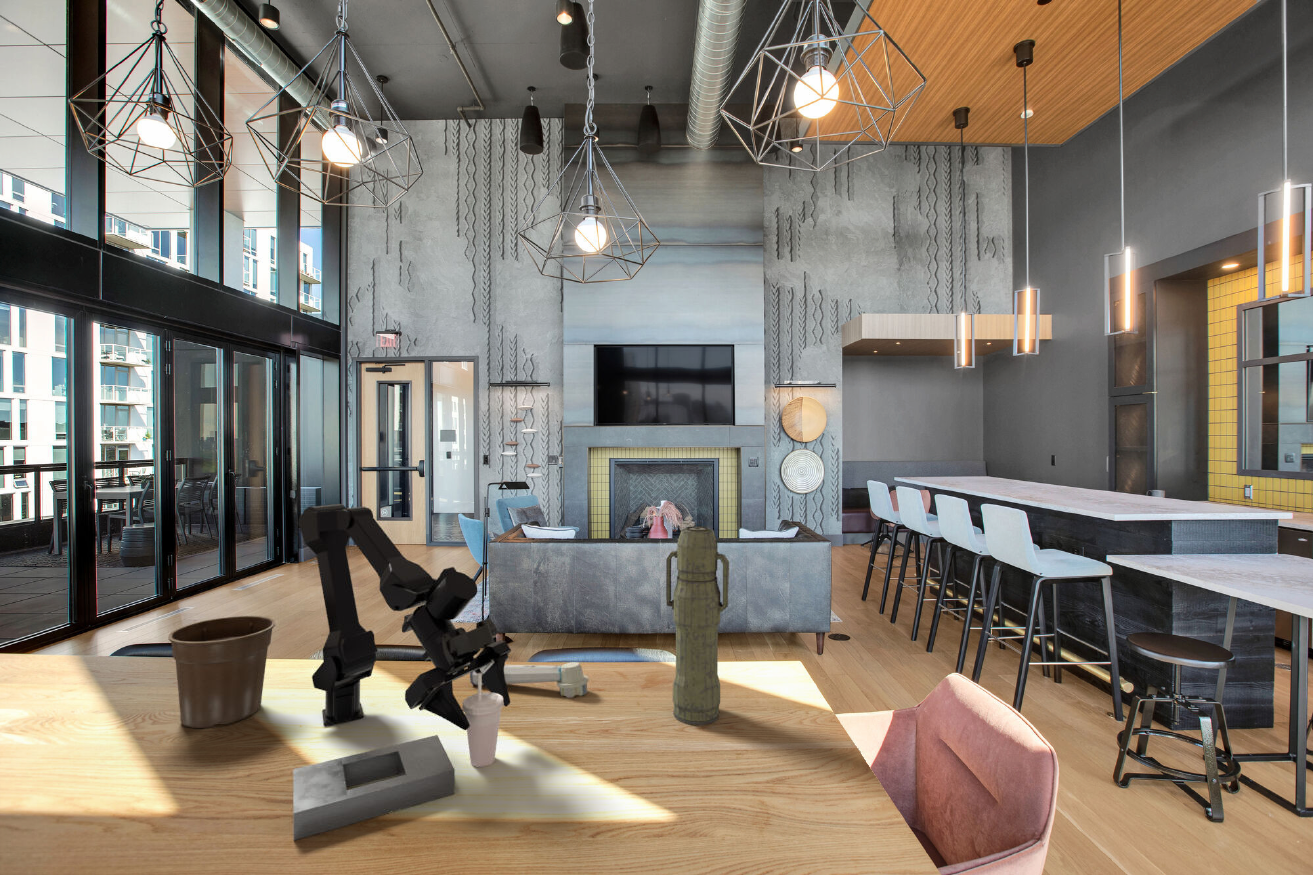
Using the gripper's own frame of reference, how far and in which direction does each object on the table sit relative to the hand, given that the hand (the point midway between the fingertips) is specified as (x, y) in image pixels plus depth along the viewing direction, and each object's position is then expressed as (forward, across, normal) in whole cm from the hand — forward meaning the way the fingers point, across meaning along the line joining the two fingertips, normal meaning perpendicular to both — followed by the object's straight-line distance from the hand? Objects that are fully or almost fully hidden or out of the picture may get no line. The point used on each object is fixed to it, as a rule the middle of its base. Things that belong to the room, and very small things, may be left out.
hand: (488, 716), depth 96 cm
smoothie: (+4, 0, +6) cm, 8 cm away
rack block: (-1, -14, +11) cm, 18 cm away
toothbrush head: (-3, +26, +14) cm, 30 cm away
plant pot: (-34, -10, +44) cm, 57 cm away
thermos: (+22, +31, -11) cm, 39 cm away
